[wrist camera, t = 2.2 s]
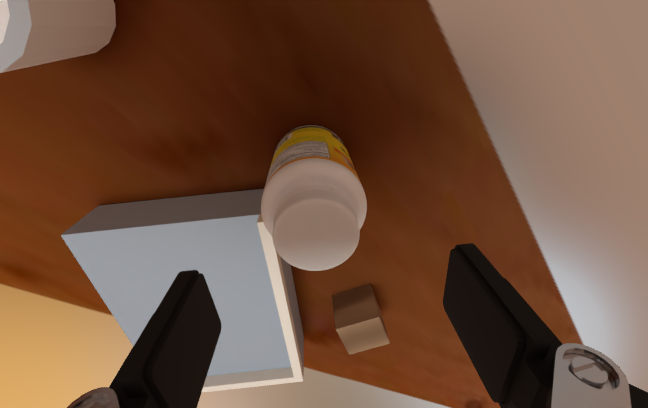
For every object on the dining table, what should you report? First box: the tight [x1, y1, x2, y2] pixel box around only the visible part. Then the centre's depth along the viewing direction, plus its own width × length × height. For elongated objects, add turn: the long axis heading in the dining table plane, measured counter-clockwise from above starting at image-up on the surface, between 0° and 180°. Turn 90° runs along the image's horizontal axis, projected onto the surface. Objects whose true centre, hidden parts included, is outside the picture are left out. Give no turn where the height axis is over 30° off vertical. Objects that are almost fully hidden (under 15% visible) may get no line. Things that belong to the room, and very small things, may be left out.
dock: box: [61, 189, 304, 392], centre depth 25 cm, size 18×14×5 cm
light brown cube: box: [332, 284, 390, 355], centre depth 28 cm, size 4×4×4 cm
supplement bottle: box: [261, 125, 367, 271], centre depth 17 cm, size 6×6×10 cm
